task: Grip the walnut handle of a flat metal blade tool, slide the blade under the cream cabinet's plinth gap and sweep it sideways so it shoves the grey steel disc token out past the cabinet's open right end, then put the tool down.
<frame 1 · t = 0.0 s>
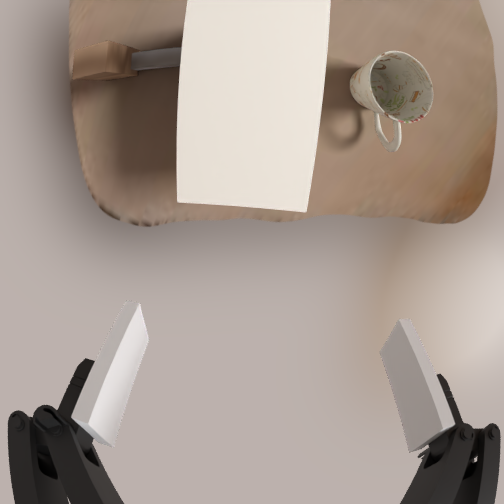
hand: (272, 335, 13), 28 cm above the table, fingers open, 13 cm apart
blade tool: (123, 65, 28), on the table
mug: (371, 102, 30), on the table
cabinet: (255, 89, 30), on the table
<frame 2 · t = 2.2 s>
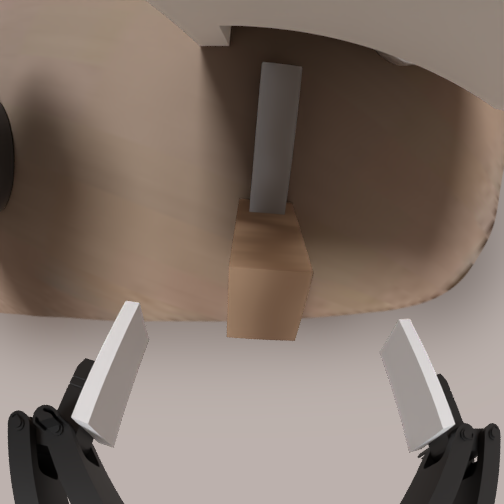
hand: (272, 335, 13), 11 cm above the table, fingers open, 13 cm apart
blade tool: (262, 229, 22), on the table
cabinet: (348, 5, 12), on the table
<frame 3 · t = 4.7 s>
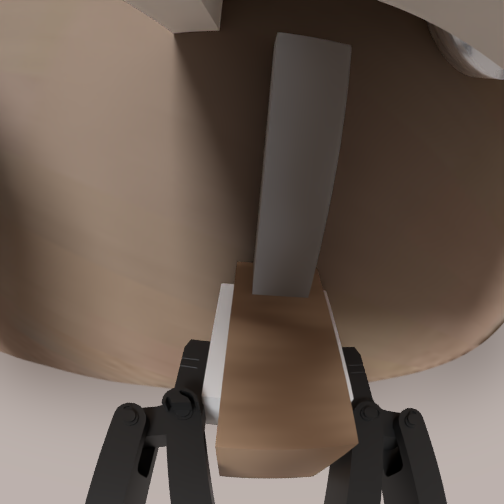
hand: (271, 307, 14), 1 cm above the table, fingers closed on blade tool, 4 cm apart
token: (460, 35, 7), on the table
blade tool: (271, 302, 15), on the table, touching gripper
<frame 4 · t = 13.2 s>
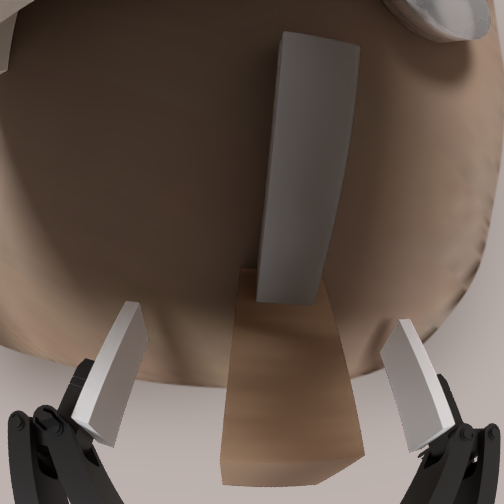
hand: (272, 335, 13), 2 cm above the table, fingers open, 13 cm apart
blade tool: (275, 308, 14), on the table
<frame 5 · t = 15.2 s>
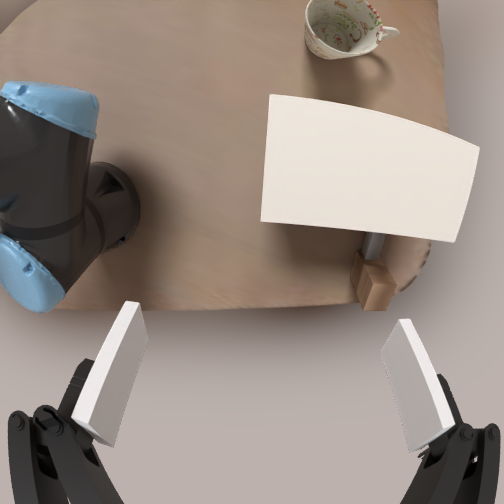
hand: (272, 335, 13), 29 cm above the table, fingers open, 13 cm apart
blade tool: (363, 264, 44), on the table
mug: (340, 40, 26), on the table
cabinet: (339, 145, 34), on the table
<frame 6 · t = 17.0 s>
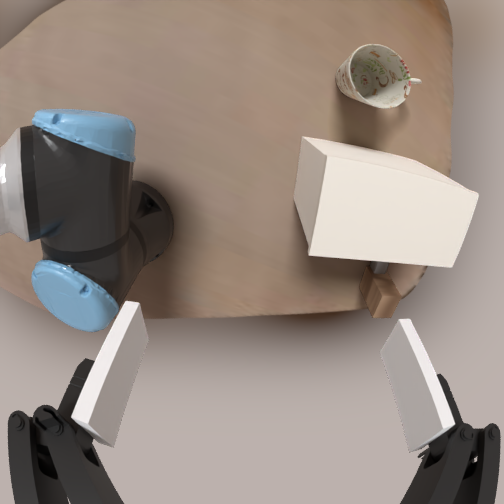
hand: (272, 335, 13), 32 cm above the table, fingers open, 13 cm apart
blade tool: (371, 277, 50), on the table
mug: (366, 80, 32), on the table
cabinet: (358, 177, 40), on the table
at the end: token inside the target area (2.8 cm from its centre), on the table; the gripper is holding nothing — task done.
